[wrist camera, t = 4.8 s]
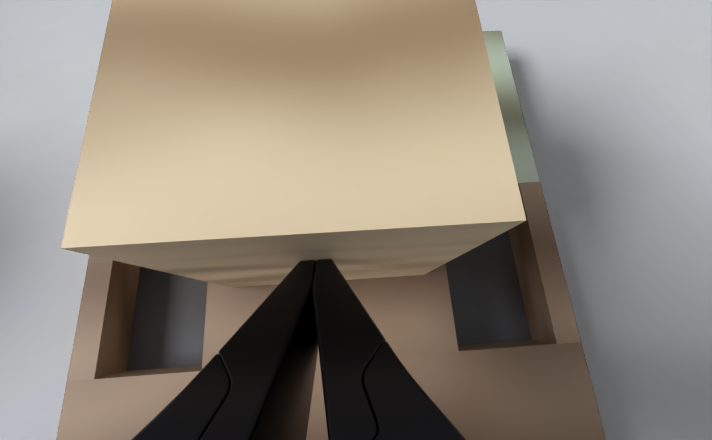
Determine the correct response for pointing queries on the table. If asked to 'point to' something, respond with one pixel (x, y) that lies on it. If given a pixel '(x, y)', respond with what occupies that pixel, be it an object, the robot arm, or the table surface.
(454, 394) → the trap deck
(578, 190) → the table surface
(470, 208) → the maple block
